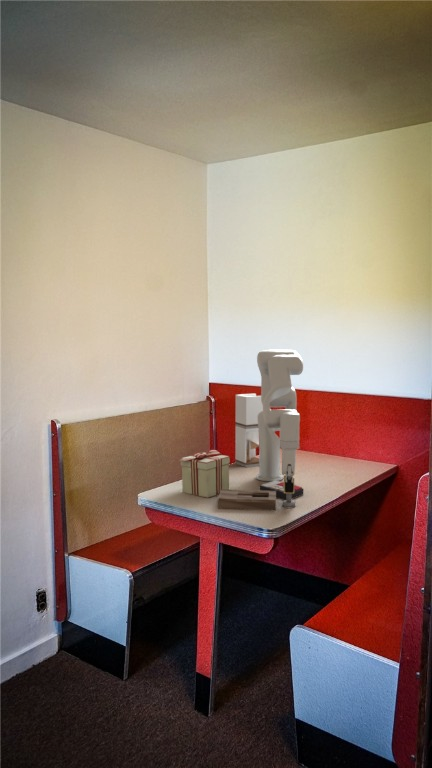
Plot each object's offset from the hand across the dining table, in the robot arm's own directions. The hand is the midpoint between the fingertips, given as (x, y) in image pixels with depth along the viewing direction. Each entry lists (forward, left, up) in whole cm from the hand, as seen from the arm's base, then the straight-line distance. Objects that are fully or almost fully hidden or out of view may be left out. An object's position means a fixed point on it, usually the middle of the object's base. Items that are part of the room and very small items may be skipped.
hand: (288, 489), depth 239 cm
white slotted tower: (-70, -18, -7) cm, 73 cm away
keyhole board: (0, -16, -6) cm, 17 cm away
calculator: (-17, -3, -7) cm, 18 cm away
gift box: (-17, -36, -7) cm, 40 cm away
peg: (0, 0, -6) cm, 6 cm away
